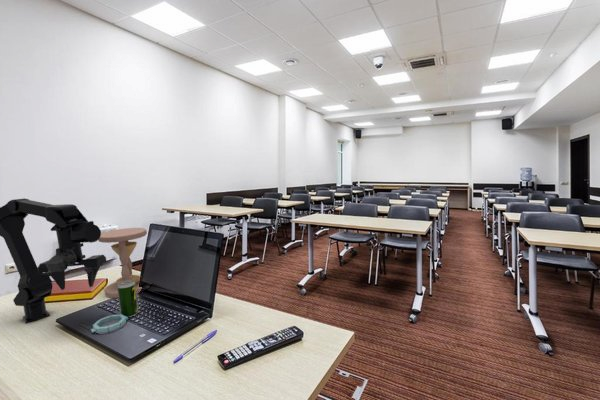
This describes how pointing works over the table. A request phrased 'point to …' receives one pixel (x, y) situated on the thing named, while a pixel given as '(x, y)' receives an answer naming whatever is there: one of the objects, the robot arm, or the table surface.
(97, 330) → the teal ring frame
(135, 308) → the beer can
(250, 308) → the table surface
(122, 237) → the hourglass
